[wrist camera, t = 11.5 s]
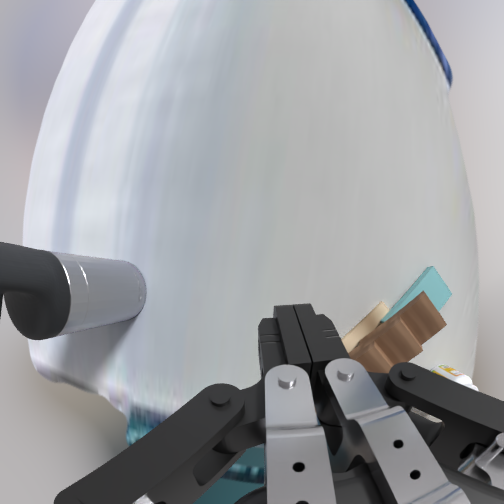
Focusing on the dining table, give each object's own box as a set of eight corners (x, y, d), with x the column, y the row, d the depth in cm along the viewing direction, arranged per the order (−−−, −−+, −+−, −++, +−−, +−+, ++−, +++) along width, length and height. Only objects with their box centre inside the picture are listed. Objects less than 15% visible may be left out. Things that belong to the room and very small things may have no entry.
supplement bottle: (427, 400, 34) (455, 424, 24) (420, 375, 35) (450, 397, 25) (452, 382, 34) (484, 401, 24) (446, 357, 34) (480, 373, 25)
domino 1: (406, 349, 33) (452, 293, 34) (384, 321, 34) (433, 266, 34) (401, 347, 35) (446, 294, 35) (380, 320, 35) (427, 267, 36)
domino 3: (355, 394, 33) (423, 350, 29) (332, 368, 34) (400, 320, 30) (356, 387, 35) (421, 345, 31) (333, 362, 36) (399, 315, 31)
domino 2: (381, 372, 33) (446, 324, 29) (359, 345, 34) (425, 294, 30) (381, 366, 35) (444, 320, 31) (359, 340, 35) (423, 290, 31)
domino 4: (330, 414, 34) (398, 375, 29) (306, 389, 34) (374, 346, 30) (332, 407, 35) (397, 368, 31) (308, 382, 36) (374, 340, 32)
